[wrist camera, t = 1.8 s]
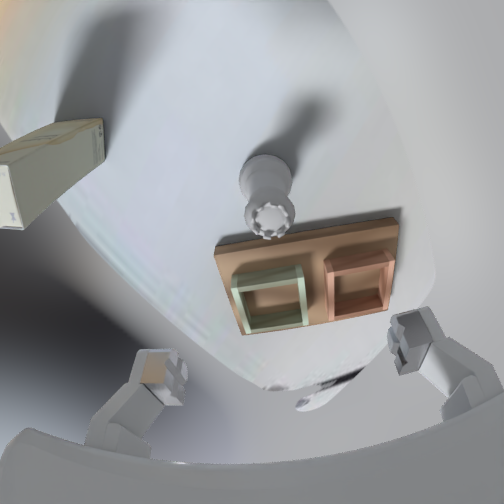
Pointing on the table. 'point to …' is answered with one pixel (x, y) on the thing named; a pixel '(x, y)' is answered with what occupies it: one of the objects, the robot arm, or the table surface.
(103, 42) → the table surface
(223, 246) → the board
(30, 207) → the skincare box
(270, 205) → the rook chess piece
